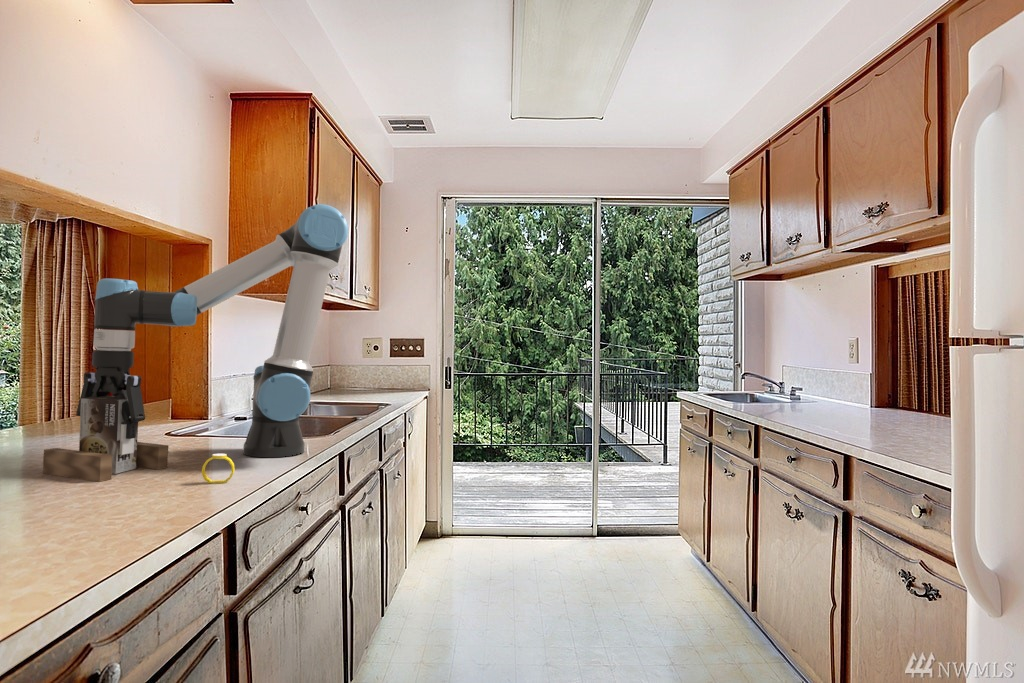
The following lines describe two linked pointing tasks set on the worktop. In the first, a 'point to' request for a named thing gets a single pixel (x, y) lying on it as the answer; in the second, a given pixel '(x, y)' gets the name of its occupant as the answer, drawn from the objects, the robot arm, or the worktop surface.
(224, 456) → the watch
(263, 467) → the worktop surface
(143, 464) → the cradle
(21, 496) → the worktop surface
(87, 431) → the coffee box
